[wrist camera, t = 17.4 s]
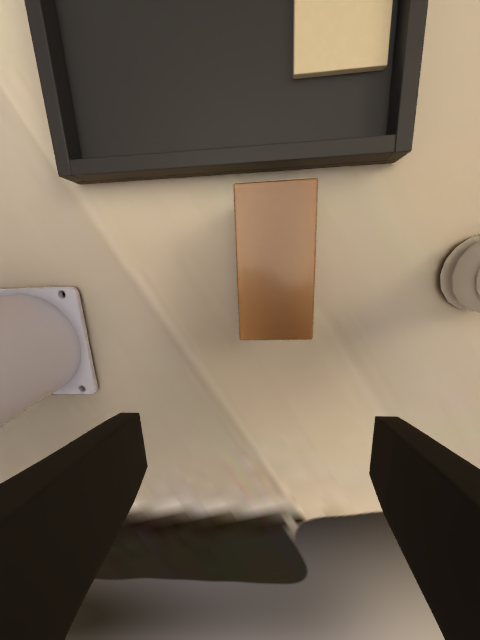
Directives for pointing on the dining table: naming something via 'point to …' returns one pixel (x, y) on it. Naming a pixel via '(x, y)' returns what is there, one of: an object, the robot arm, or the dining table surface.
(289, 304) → the eraser
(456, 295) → the rook chess piece
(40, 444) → the dining table surface
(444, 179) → the dining table surface
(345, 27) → the paper scrap
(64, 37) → the tray
